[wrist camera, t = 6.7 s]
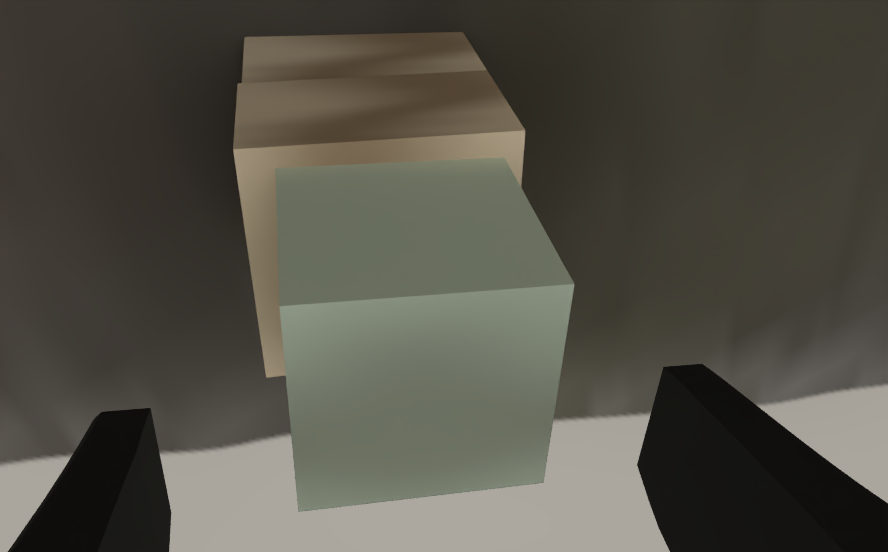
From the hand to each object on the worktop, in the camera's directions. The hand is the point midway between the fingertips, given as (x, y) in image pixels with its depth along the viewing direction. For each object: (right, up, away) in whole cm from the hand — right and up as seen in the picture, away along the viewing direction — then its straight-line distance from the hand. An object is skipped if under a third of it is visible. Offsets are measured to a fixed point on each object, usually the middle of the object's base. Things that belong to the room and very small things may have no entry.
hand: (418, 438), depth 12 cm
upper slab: (-1, +4, +6) cm, 8 cm away
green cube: (-1, +3, +4) cm, 5 cm away
